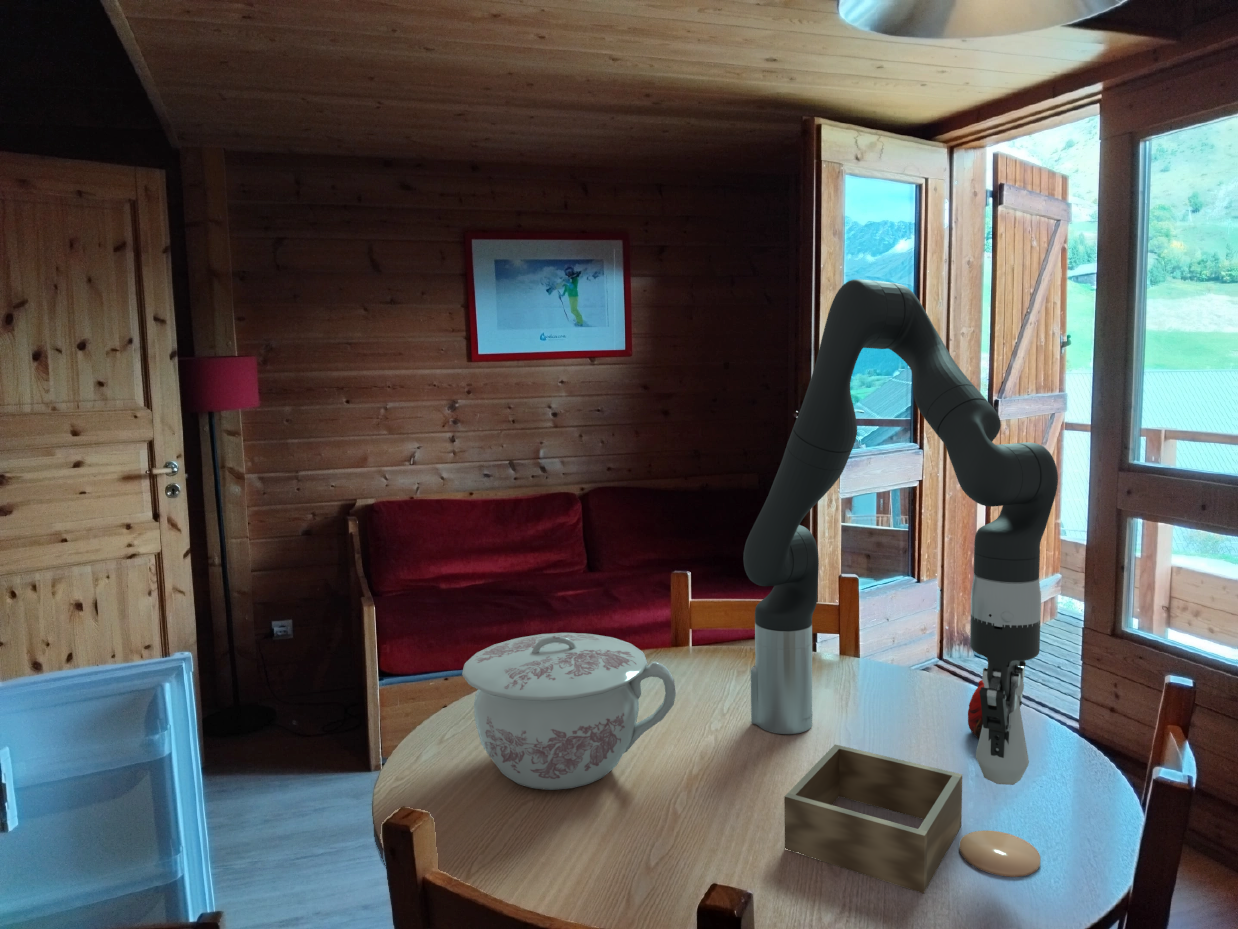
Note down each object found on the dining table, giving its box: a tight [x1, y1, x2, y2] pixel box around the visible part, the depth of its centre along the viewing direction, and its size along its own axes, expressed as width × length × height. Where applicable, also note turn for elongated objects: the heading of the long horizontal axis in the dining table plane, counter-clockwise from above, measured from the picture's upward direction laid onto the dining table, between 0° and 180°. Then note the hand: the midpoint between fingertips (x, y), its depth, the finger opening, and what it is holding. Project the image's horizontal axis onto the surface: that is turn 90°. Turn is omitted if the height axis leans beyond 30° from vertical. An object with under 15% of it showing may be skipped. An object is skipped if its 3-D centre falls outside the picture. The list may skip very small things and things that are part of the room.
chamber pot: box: [461, 632, 677, 791], centre depth 131 cm, size 28×28×21 cm
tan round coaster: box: [959, 830, 1041, 878], centre depth 107 cm, size 9×9×1 cm
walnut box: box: [783, 743, 963, 894], centre depth 111 cm, size 17×17×7 cm
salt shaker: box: [975, 677, 1030, 786], centre depth 105 cm, size 6×6×13 cm
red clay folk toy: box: [967, 658, 989, 739], centre depth 138 cm, size 8×7×15 cm
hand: (1001, 752), depth 105 cm, fingers closed on salt shaker, 3 cm apart
